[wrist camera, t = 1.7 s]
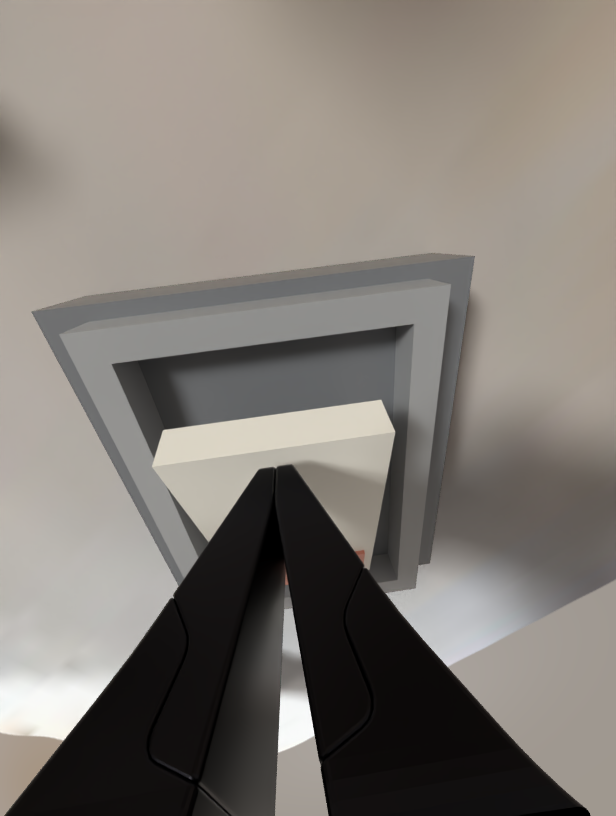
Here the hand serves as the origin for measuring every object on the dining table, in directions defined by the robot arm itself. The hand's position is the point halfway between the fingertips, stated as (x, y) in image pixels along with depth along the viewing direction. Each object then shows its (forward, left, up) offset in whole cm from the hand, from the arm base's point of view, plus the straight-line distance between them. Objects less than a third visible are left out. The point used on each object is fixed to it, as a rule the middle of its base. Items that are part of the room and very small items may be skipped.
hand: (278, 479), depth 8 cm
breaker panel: (-4, 0, -8) cm, 9 cm away
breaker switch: (-4, 0, -2) cm, 4 cm away
